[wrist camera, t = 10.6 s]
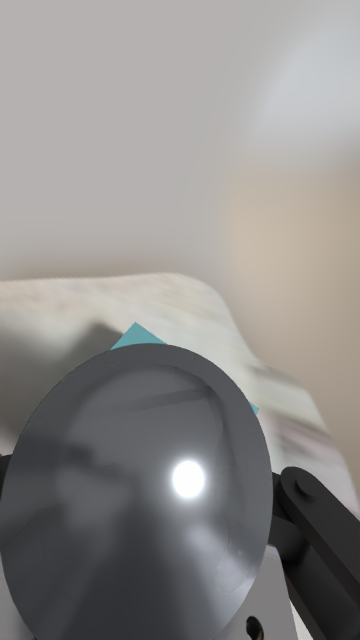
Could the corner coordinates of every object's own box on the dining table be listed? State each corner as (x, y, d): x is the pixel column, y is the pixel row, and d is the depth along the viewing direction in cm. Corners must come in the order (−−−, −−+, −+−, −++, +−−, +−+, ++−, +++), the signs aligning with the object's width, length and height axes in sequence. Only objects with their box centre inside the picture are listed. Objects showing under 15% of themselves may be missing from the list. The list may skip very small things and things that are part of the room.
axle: (105, 444, 13) (-73, 520, 3) (144, 390, 15) (130, 306, 4) (156, 487, 13) (184, 800, 2) (191, 425, 15) (306, 426, 4)
